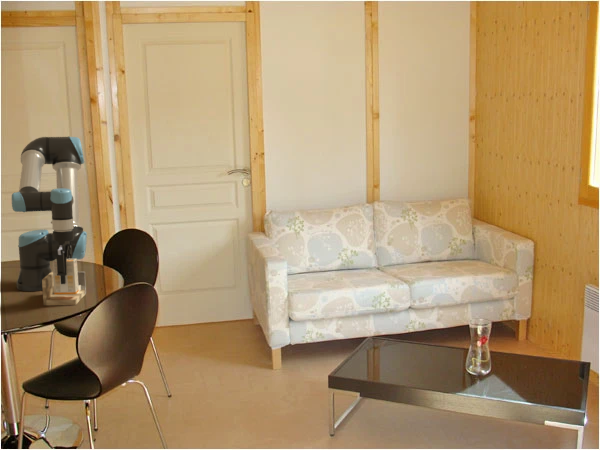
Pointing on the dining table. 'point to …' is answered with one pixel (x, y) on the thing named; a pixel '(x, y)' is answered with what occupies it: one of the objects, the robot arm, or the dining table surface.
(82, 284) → the shelf
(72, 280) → the supplement box
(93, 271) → the dining table surface
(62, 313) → the dining table surface
